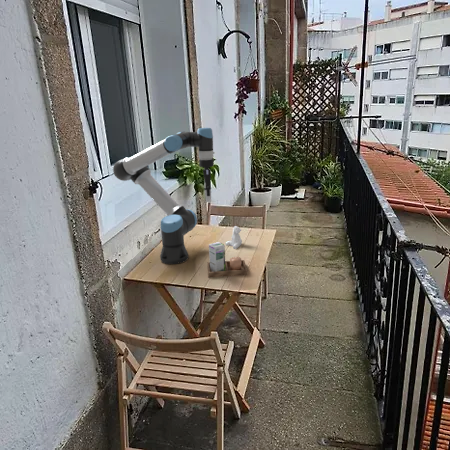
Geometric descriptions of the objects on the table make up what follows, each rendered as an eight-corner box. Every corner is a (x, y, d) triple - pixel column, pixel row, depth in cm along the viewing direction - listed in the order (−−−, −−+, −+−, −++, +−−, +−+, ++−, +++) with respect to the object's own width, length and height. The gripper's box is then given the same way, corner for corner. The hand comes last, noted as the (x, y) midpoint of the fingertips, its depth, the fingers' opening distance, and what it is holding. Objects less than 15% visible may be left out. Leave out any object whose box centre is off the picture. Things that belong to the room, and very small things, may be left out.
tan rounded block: (230, 273, 185) (230, 261, 184) (229, 268, 191) (229, 257, 189) (242, 272, 186) (241, 261, 184) (240, 267, 191) (240, 256, 189)
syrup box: (216, 274, 184) (215, 247, 179) (209, 270, 189) (208, 243, 184) (225, 271, 187) (224, 244, 182) (219, 267, 192) (218, 240, 187)
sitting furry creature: (224, 244, 223) (224, 225, 219) (235, 241, 228) (235, 222, 224) (234, 249, 216) (234, 230, 212) (246, 245, 221) (245, 226, 217)
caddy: (208, 279, 182) (208, 272, 181) (207, 268, 193) (207, 262, 192) (247, 276, 183) (247, 270, 182) (244, 266, 195) (244, 260, 193)
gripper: (214, 162, 183) (216, 204, 190) (212, 154, 207) (213, 192, 214) (199, 163, 183) (201, 205, 190) (198, 155, 206) (200, 192, 213)
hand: (208, 198), depth 202 cm, fingers open, 13 cm apart
